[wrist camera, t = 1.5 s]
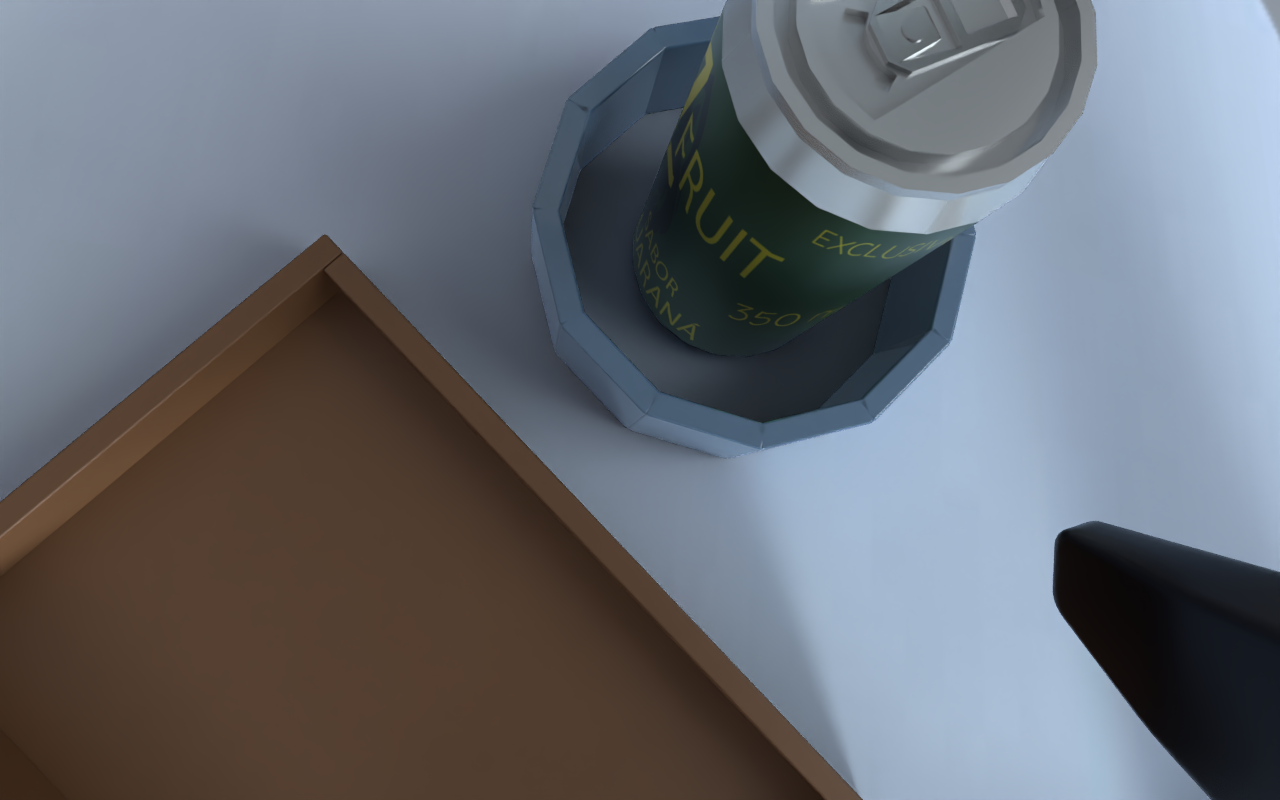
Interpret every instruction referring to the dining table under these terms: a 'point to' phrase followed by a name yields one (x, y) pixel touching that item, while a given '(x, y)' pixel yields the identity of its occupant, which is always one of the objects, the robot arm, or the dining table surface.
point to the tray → (348, 594)
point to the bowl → (588, 125)
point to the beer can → (847, 152)
